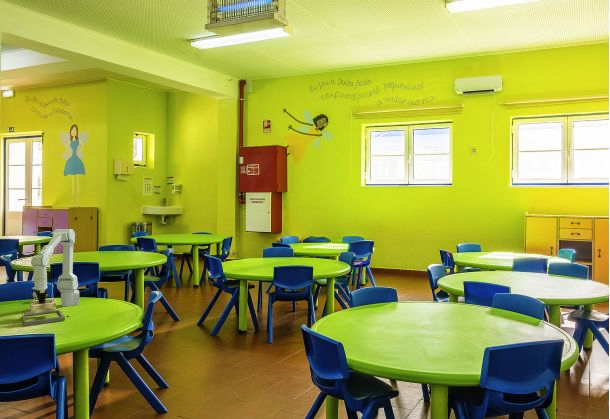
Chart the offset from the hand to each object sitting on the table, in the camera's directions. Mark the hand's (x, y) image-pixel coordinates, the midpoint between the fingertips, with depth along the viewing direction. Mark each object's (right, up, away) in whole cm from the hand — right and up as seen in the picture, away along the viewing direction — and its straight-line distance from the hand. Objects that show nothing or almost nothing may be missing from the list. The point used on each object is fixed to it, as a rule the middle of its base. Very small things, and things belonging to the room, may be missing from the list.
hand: (41, 304), depth 269 cm
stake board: (-7, -7, +12) cm, 15 cm away
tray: (+3, -7, -4) cm, 9 cm away
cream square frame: (+3, -2, -5) cm, 6 cm away
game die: (-21, -6, +40) cm, 46 cm away
